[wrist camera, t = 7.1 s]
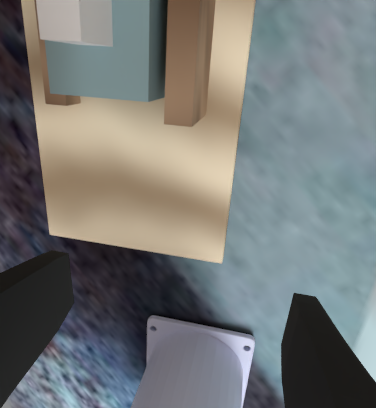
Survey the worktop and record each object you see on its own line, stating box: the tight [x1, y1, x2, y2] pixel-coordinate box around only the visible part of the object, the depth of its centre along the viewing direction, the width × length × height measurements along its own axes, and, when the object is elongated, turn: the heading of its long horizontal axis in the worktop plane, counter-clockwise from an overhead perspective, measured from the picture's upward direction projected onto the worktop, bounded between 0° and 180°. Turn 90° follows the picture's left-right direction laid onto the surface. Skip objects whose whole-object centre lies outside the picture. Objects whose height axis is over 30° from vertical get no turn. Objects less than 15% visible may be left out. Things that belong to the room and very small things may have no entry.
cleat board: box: [21, 0, 256, 264], centre depth 16 cm, size 20×12×5 cm, turn 177°
